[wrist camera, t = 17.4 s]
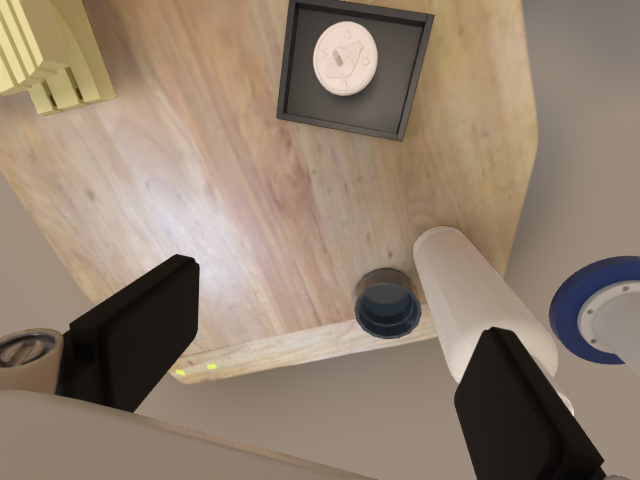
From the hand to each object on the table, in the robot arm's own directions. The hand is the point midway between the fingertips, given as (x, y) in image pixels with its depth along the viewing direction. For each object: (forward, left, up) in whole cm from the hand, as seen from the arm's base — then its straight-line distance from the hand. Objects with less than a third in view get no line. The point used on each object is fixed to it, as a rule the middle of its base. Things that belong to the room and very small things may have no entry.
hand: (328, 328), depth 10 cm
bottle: (-14, +9, -36) cm, 40 cm away
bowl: (-8, +18, -36) cm, 41 cm away
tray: (+4, -12, -36) cm, 38 cm away
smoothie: (+4, -12, -36) cm, 38 cm away
